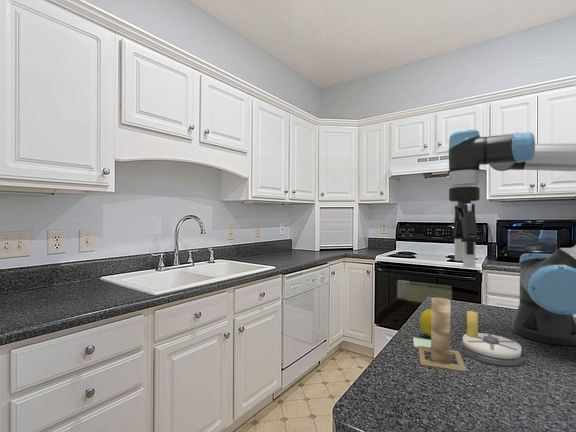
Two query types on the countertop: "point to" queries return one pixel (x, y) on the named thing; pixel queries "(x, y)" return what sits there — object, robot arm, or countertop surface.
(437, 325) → the dowel
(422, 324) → the lemon
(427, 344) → the coaster
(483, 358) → the wheel base
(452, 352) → the square gold frame
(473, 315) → the handwheel
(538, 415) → the countertop surface
